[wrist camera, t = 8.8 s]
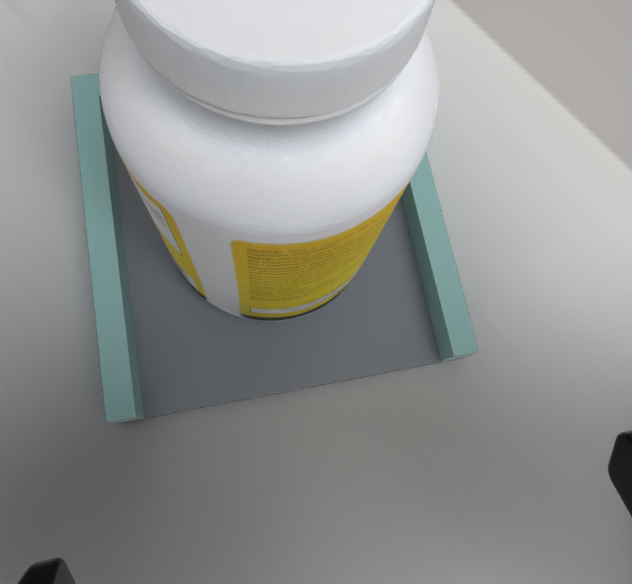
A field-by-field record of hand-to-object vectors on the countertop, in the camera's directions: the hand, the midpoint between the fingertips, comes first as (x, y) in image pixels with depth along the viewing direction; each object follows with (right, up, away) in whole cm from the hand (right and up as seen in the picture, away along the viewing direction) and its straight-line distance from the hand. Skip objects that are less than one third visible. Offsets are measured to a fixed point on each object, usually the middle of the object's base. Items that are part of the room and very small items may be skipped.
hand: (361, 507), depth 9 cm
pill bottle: (-2, +5, +10) cm, 11 cm away
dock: (-2, +6, +10) cm, 12 cm away
